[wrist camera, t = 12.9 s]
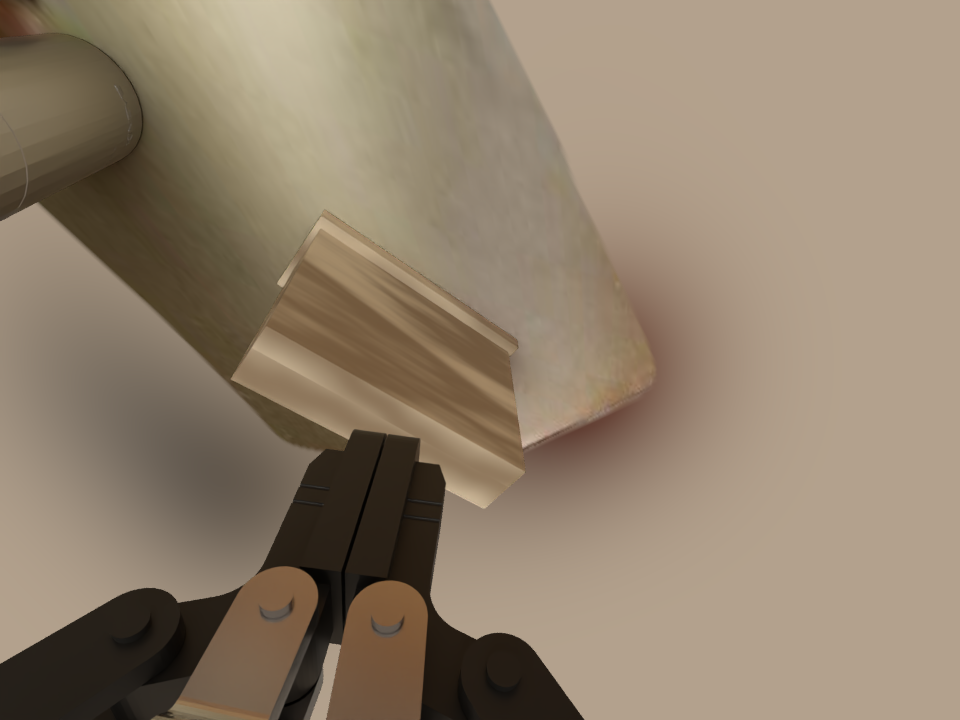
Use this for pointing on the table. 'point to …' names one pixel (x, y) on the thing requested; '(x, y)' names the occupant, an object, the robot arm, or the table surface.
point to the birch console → (389, 360)
